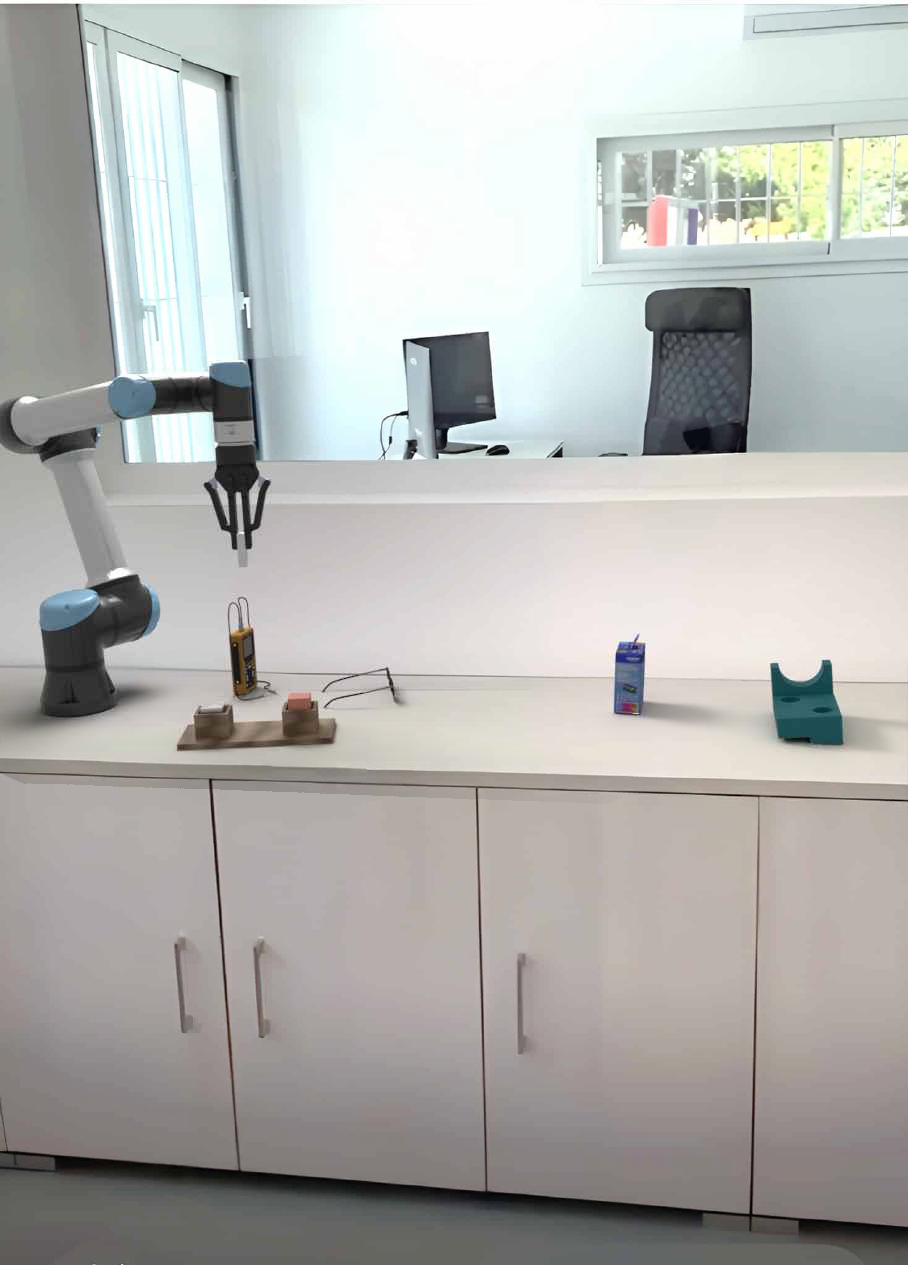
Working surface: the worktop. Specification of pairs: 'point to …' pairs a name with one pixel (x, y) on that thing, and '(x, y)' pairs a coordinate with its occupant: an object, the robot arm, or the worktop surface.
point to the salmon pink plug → (299, 701)
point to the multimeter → (243, 658)
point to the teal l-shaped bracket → (807, 707)
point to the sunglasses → (367, 691)
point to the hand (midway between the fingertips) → (243, 565)
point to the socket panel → (257, 730)
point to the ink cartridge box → (629, 677)
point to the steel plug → (213, 708)
